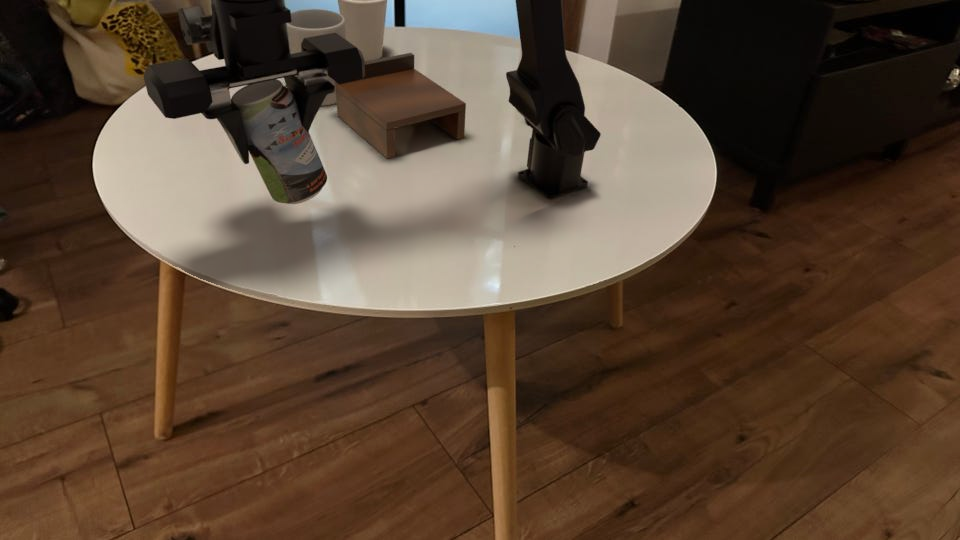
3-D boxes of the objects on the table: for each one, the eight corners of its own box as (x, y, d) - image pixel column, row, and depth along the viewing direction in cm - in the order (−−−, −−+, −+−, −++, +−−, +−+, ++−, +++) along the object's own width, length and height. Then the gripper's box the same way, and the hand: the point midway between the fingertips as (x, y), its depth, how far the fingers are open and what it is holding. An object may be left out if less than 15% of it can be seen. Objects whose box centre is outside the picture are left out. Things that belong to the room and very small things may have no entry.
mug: (358, 86, 105) (354, 13, 98) (336, 110, 99) (330, 33, 92) (285, 74, 107) (276, 1, 100) (258, 96, 100) (247, 20, 94)
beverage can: (318, 213, 70) (287, 107, 61) (250, 209, 71) (211, 104, 63) (339, 177, 74) (312, 73, 66) (275, 173, 75) (241, 71, 67)
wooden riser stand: (464, 137, 94) (466, 88, 90) (387, 159, 89) (386, 108, 84) (410, 98, 103) (410, 52, 99) (337, 115, 97) (333, 67, 93)
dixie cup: (372, 42, 120) (370, -19, 114) (399, 58, 115) (399, -4, 109) (329, 51, 115) (325, -11, 109) (356, 68, 110) (353, 4, 104)
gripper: (309, -44, 68) (322, 104, 78) (106, -21, 59) (149, 143, 69) (364, -12, 61) (370, 145, 71) (143, 20, 52) (185, 195, 62)
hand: (271, 155), depth 68 cm, fingers closed on beverage can, 5 cm apart
